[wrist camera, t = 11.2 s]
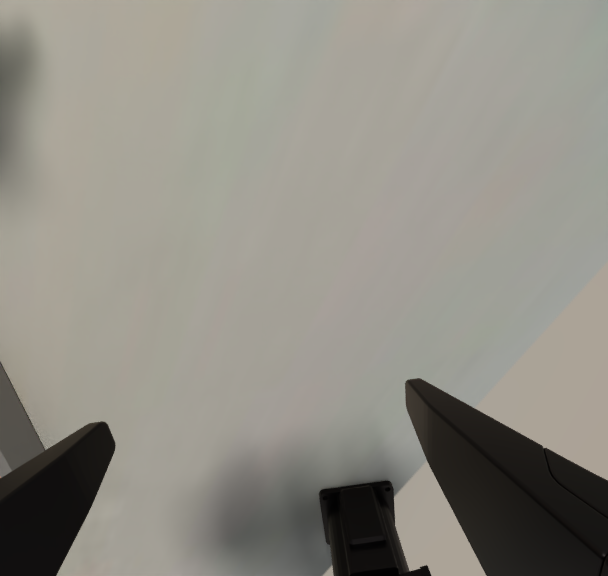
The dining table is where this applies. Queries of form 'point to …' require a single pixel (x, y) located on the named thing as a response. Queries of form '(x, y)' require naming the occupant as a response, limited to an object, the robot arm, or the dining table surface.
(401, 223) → the dining table surface
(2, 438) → the organizer
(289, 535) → the dining table surface
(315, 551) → the dining table surface
